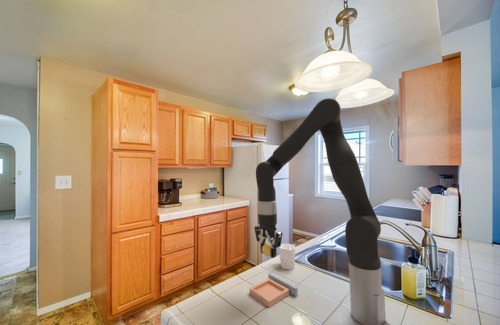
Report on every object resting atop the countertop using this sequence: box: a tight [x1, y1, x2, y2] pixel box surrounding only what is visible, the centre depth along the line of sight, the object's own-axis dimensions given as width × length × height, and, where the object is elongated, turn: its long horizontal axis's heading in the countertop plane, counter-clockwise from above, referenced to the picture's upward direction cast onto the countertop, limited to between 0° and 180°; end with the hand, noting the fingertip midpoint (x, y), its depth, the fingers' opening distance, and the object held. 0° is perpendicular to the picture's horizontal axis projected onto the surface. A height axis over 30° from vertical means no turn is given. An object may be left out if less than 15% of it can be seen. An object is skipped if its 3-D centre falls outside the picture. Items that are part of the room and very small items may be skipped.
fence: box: [267, 272, 299, 297], centre depth 85 cm, size 15×1×3 cm, turn 40°
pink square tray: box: [249, 278, 290, 308], centre depth 81 cm, size 11×11×2 cm
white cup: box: [278, 243, 296, 271], centre depth 104 cm, size 8×8×10 cm
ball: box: [262, 242, 271, 258], centre depth 82 cm, size 5×5×5 cm
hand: (268, 254), depth 82 cm, fingers closed on ball, 5 cm apart
